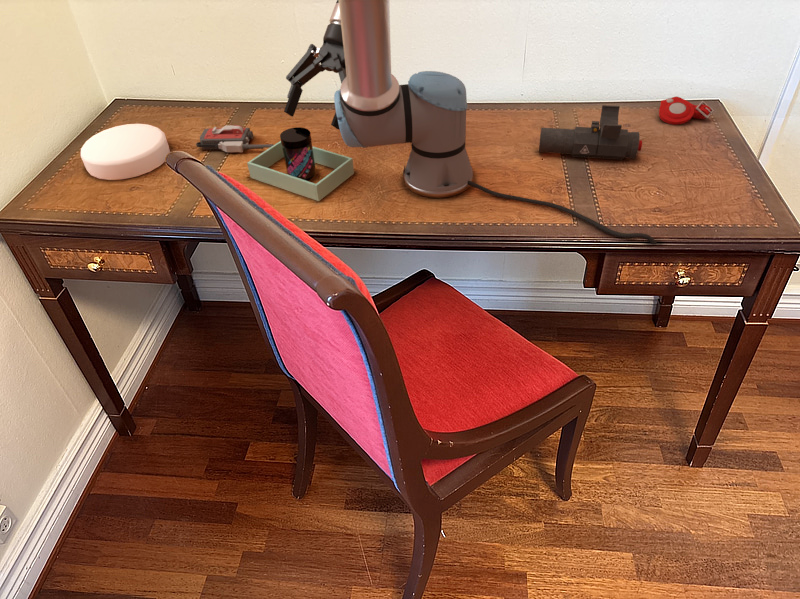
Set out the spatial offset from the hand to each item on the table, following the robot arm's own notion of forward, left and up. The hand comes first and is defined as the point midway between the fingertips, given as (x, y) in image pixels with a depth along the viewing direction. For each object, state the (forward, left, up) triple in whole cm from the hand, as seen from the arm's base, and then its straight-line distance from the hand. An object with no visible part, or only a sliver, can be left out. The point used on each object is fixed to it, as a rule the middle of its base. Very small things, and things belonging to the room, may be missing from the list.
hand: (311, 120), depth 141 cm
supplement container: (0, +6, -11) cm, 13 cm away
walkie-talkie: (+23, +2, -11) cm, 26 cm away
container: (+43, +20, -11) cm, 49 cm away
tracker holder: (-68, -62, -11) cm, 92 cm away
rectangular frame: (0, +6, -11) cm, 13 cm away
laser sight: (-54, -34, -11) cm, 64 cm away
